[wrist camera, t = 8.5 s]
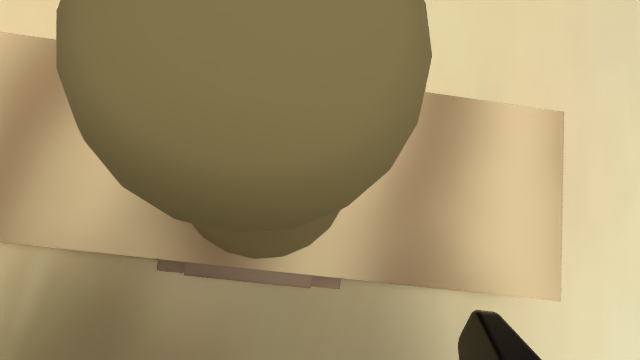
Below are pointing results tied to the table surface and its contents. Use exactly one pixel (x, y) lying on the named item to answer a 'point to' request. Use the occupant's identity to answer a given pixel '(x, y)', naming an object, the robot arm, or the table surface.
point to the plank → (352, 221)
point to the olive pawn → (246, 106)
